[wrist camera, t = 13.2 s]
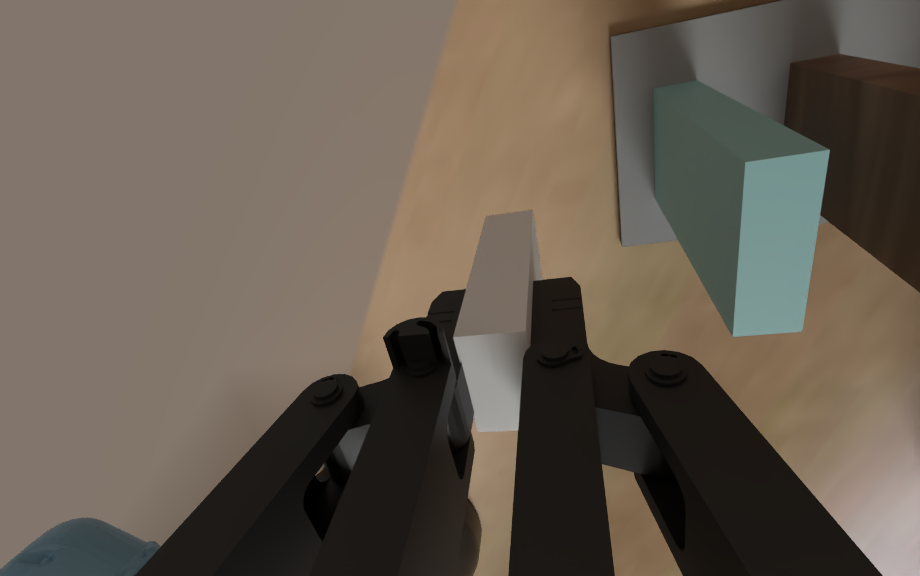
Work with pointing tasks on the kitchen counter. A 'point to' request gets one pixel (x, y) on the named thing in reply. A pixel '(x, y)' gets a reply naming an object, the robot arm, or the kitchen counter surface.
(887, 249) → the tile
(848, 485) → the kitchen counter surface
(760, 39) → the mat
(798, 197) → the teal tile
